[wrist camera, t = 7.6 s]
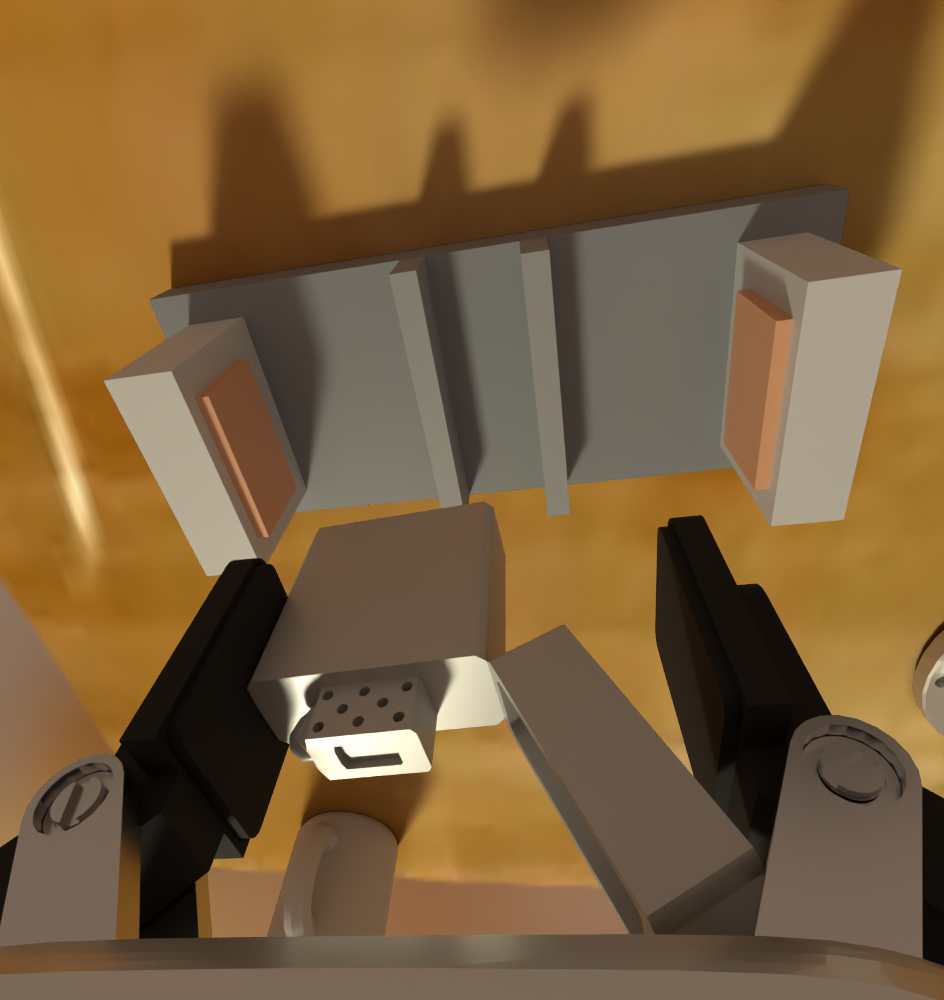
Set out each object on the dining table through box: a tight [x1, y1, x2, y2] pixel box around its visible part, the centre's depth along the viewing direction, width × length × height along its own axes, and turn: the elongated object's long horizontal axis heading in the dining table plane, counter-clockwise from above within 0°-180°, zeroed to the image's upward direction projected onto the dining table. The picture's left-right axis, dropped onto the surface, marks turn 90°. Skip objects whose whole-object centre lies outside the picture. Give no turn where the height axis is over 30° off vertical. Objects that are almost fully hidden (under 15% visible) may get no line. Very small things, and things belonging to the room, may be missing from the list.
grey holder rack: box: [104, 184, 902, 576], centre depth 19 cm, size 22×9×6 cm, turn 99°
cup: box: [267, 812, 398, 937], centre depth 37 cm, size 7×10×9 cm
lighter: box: [247, 502, 765, 936], centre depth 10 cm, size 7×2×8 cm, turn 103°
